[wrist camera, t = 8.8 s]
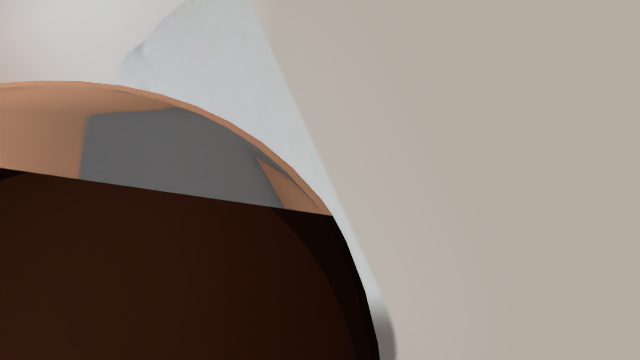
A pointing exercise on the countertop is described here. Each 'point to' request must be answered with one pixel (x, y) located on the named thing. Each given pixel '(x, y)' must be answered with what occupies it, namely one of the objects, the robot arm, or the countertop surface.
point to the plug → (162, 237)
